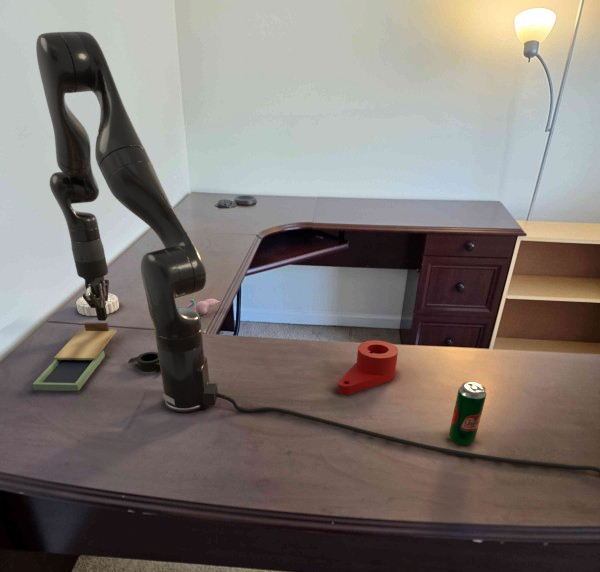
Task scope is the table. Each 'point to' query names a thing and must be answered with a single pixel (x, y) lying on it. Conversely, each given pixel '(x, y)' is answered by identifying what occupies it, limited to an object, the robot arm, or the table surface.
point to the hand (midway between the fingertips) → (102, 319)
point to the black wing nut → (147, 362)
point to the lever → (370, 367)
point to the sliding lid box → (76, 386)
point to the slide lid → (87, 342)
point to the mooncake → (87, 310)
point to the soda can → (467, 413)
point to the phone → (68, 371)
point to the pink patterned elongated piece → (202, 305)
